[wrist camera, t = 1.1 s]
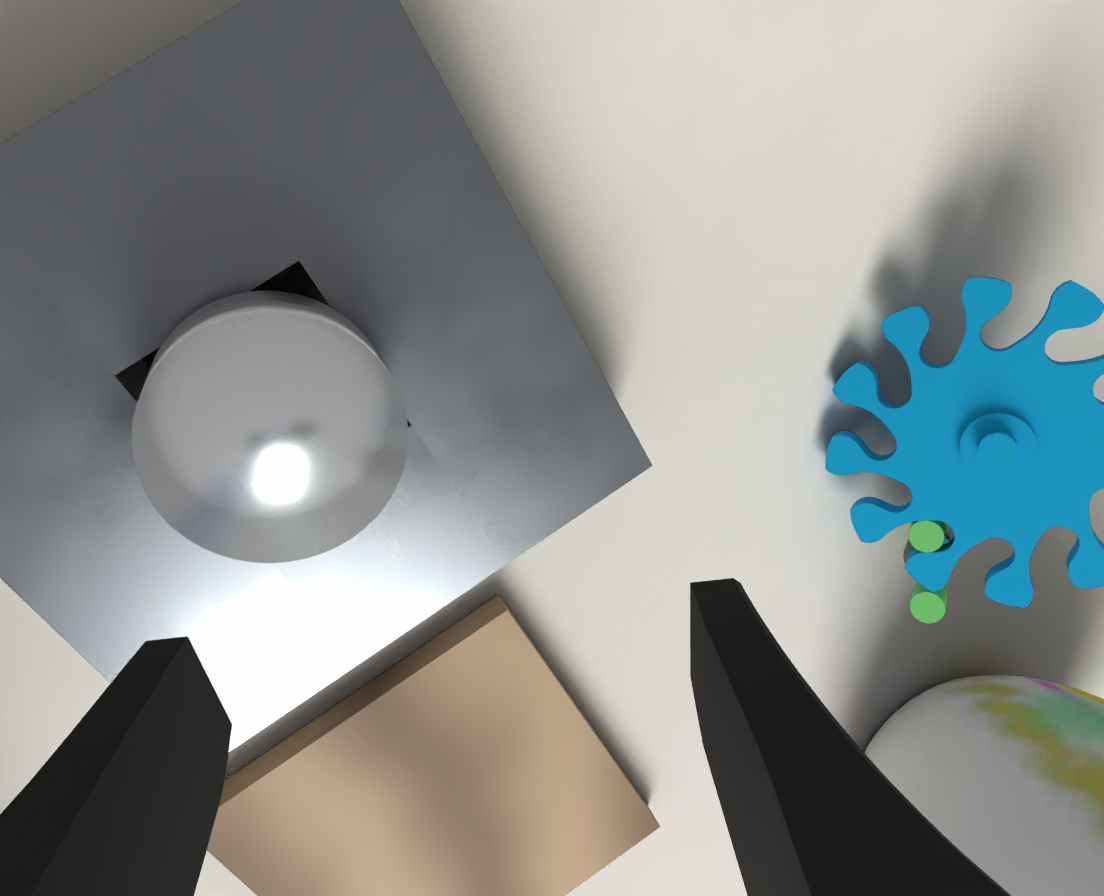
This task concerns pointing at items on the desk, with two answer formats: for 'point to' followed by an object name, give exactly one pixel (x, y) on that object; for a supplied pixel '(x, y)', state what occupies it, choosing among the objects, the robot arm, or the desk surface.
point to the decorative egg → (1006, 777)
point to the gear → (984, 447)
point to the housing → (239, 266)
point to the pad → (436, 783)
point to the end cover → (269, 428)
